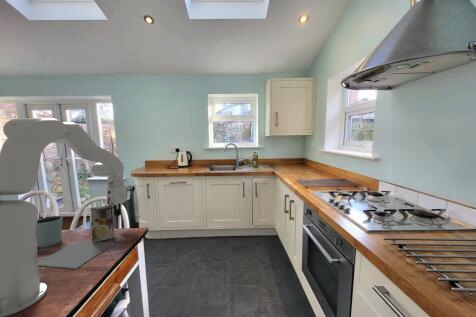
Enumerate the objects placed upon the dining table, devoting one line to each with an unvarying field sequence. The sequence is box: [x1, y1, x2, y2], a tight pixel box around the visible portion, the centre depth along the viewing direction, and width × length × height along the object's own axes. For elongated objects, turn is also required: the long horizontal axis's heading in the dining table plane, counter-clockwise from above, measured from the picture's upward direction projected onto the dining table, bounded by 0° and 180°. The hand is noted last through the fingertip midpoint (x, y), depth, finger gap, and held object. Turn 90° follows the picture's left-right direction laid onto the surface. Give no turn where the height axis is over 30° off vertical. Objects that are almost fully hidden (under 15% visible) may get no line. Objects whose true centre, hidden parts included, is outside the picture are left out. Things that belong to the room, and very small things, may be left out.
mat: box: [38, 240, 115, 270], centre depth 84 cm, size 19×20×1 cm
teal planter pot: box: [36, 215, 64, 248], centre depth 94 cm, size 10×10×12 cm
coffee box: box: [90, 204, 115, 243], centre depth 97 cm, size 9×6×16 cm
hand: (117, 215), depth 107 cm, fingers closed
